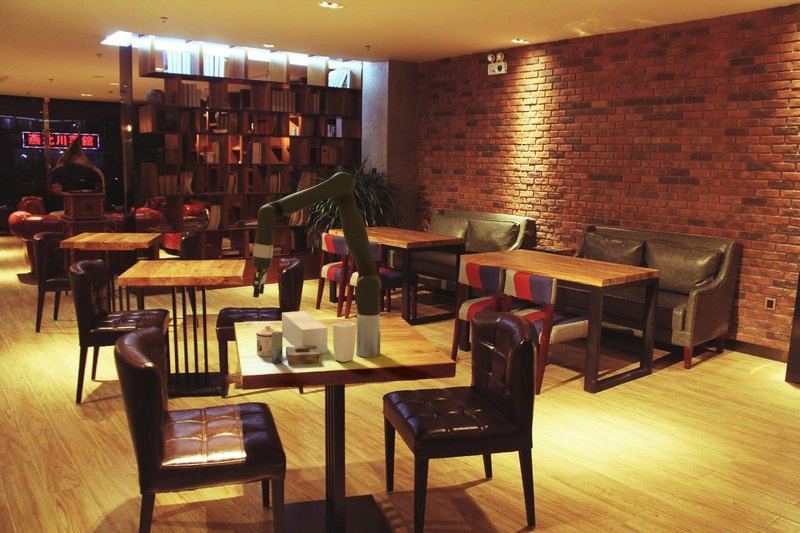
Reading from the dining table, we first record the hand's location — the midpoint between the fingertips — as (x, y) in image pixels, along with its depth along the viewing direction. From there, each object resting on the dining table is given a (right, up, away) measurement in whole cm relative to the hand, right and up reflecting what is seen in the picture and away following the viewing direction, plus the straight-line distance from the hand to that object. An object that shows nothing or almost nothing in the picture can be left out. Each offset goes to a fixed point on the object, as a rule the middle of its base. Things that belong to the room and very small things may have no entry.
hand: (258, 295), depth 278 cm
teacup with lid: (+3, -24, +5) cm, 25 cm away
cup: (+34, -26, -1) cm, 43 cm away
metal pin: (+9, -26, -6) cm, 28 cm away
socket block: (+18, -25, -2) cm, 31 cm away
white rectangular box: (+15, -22, +22) cm, 35 cm away
